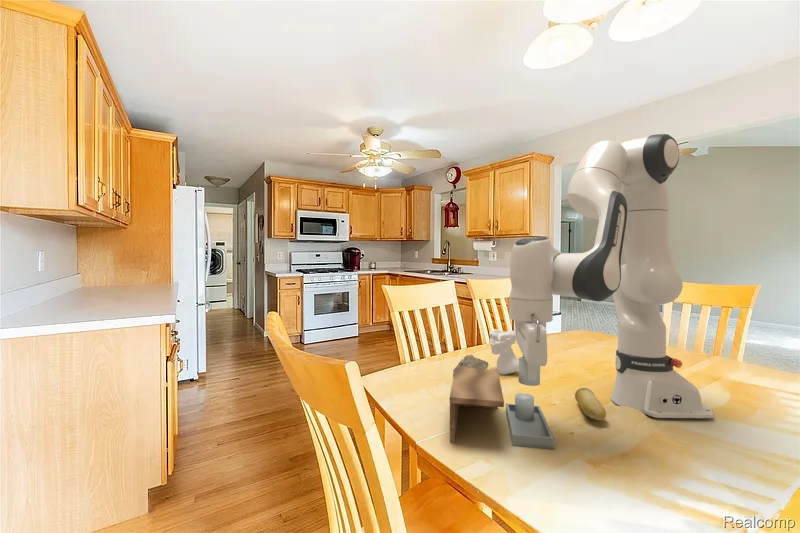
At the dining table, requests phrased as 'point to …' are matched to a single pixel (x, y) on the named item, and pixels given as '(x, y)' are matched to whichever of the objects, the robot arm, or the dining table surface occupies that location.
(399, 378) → the dining table surface
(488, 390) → the counter
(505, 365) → the small white figurine
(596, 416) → the potato
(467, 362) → the rock
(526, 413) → the pale grey cylinder
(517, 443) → the tray
